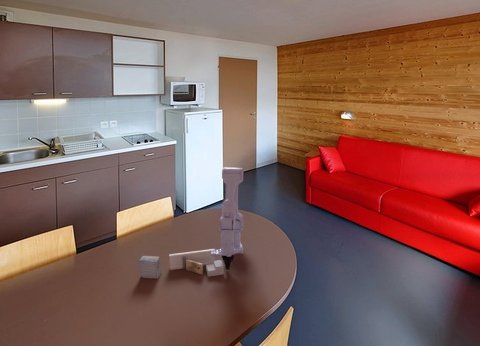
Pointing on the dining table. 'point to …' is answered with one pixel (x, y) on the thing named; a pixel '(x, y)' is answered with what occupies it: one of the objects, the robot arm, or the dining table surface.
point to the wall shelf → (191, 258)
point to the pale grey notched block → (215, 268)
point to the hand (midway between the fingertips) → (227, 268)
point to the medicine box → (150, 267)
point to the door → (194, 266)
